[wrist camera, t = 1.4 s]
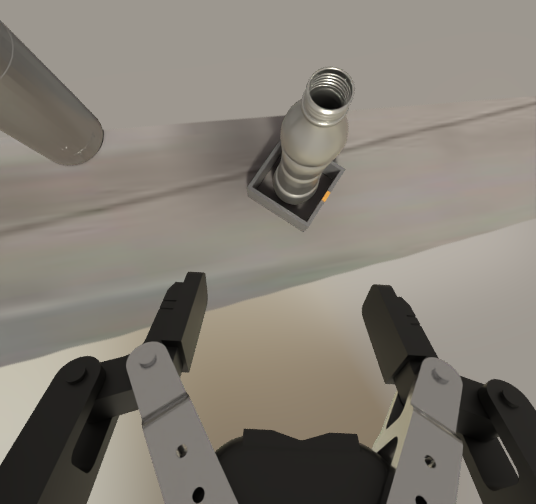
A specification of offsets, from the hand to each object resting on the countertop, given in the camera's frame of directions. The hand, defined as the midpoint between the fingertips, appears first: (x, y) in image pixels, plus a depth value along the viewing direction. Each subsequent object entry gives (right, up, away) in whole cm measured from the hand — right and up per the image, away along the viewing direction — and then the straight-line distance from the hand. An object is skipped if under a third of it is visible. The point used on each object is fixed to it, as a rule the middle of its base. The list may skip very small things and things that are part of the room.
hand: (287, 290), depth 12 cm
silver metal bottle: (+3, +12, +26) cm, 29 cm away
